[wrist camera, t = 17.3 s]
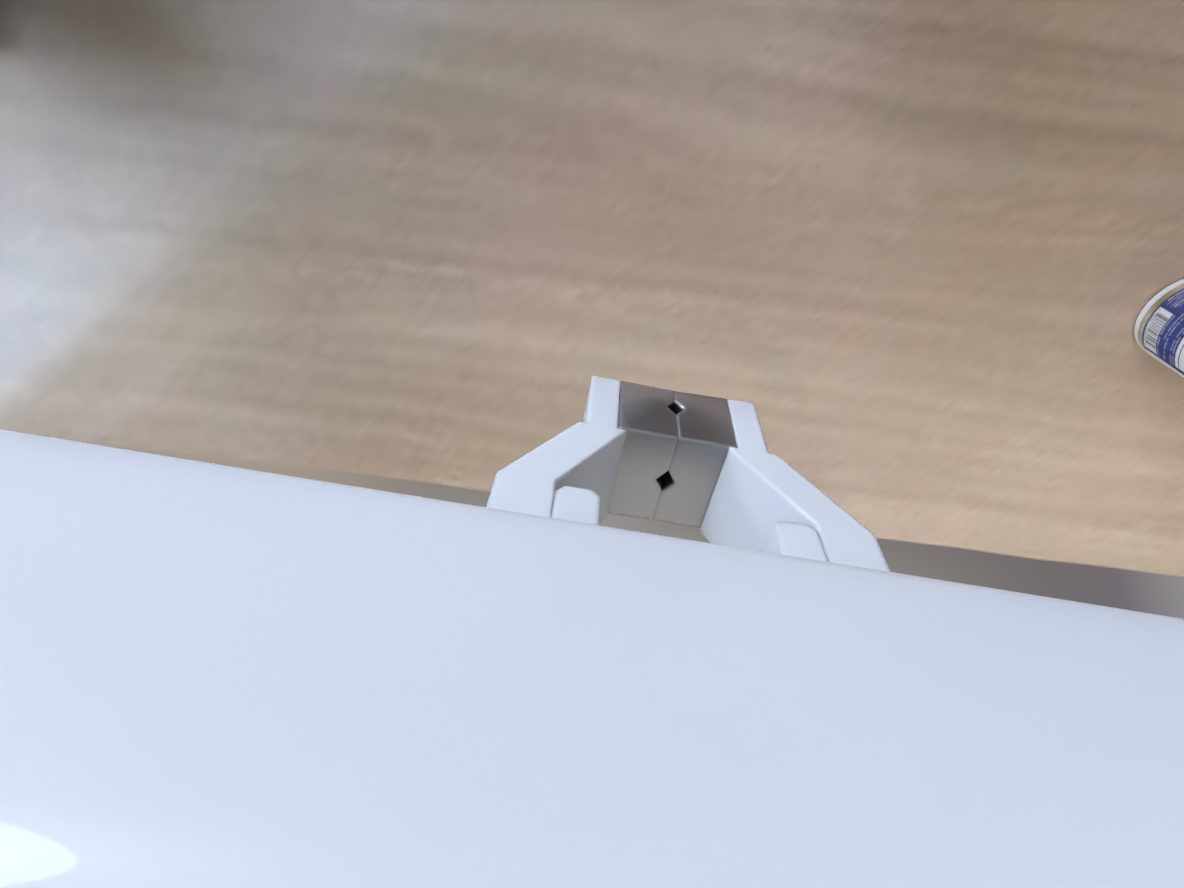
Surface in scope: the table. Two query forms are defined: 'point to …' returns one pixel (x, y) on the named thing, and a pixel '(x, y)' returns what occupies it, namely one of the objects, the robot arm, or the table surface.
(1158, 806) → the robot arm
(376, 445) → the table surface
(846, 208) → the table surface
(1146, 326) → the pill bottle
